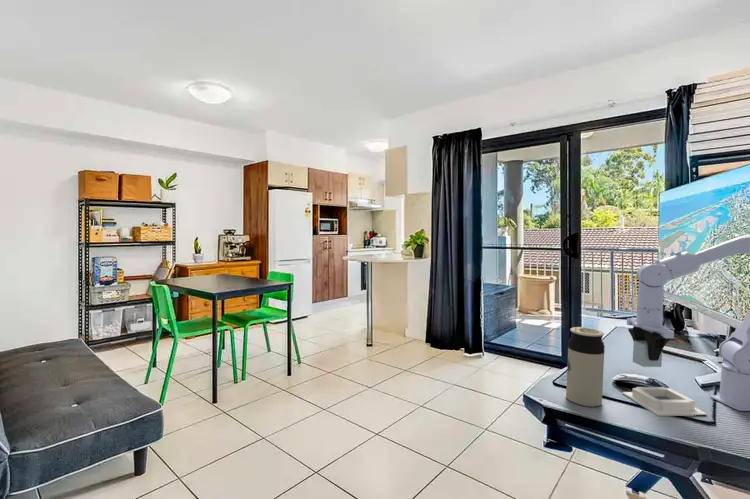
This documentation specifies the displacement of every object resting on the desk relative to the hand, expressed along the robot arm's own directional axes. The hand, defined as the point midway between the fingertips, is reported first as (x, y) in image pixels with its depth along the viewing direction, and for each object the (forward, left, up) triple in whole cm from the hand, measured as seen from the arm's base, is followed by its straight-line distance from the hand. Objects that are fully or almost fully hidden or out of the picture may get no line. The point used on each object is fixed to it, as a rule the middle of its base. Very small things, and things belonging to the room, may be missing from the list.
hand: (647, 357), depth 104 cm
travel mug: (+22, +7, -9) cm, 25 cm away
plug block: (0, 0, -2) cm, 2 cm away
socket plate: (+3, +9, -9) cm, 13 cm away
